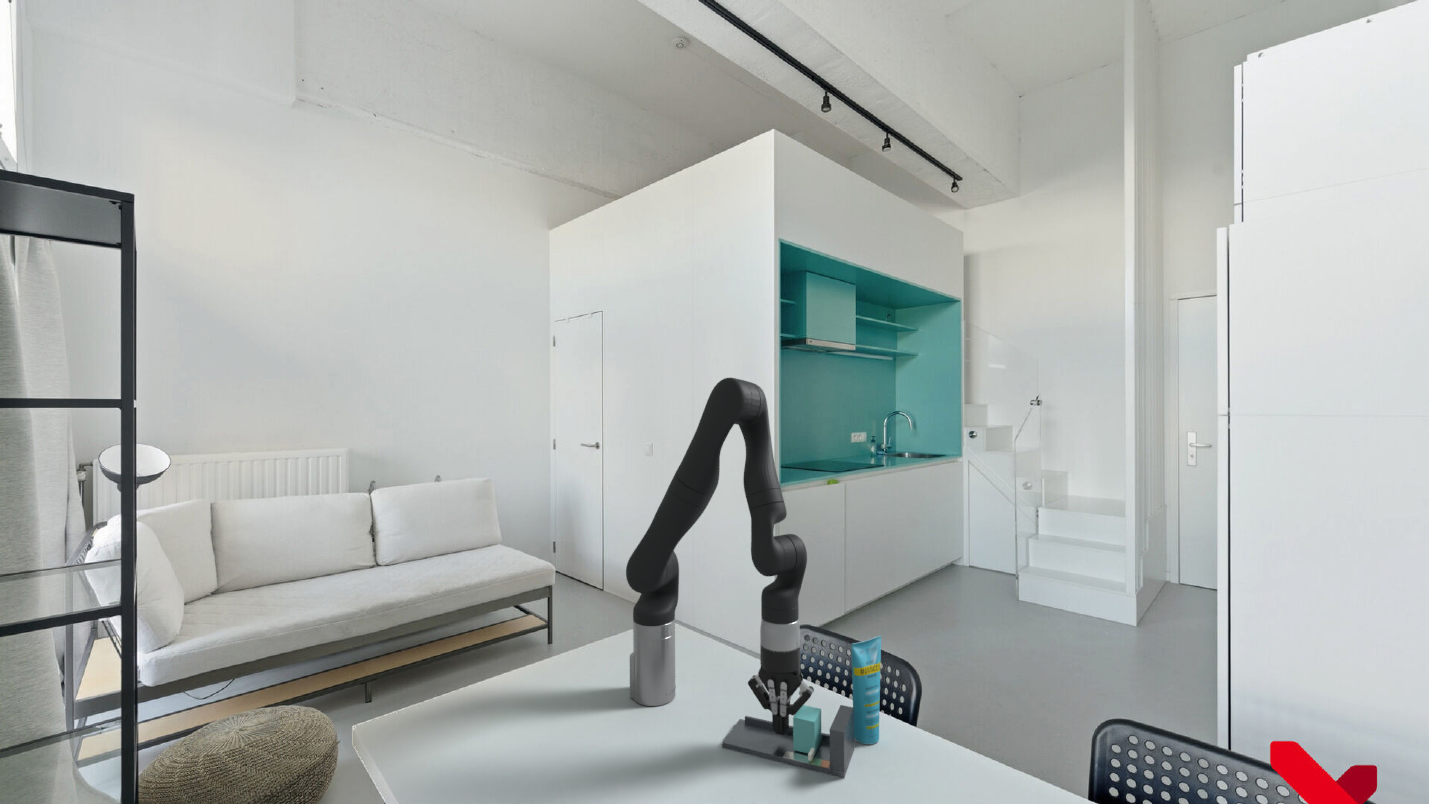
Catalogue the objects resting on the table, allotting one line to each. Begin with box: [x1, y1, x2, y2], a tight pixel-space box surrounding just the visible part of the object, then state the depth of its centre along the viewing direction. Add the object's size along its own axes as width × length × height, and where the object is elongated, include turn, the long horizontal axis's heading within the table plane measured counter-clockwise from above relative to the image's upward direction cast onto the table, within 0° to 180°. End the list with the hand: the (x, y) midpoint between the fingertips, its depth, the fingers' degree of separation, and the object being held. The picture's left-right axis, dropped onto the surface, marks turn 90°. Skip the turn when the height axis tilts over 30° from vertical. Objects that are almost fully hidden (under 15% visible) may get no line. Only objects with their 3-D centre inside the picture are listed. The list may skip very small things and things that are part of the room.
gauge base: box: [721, 704, 855, 779], centre depth 112 cm, size 23×9×8 cm, turn 66°
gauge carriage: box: [792, 704, 822, 761], centre depth 110 cm, size 4×7×6 cm, turn 156°
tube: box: [850, 635, 882, 745], centre depth 116 cm, size 7×5×19 cm, turn 123°
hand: (780, 732), depth 113 cm, fingers closed
